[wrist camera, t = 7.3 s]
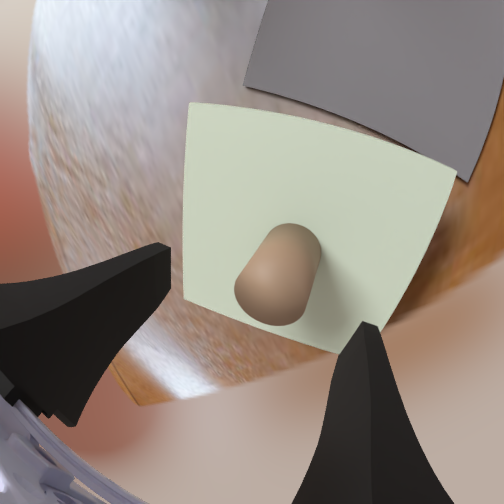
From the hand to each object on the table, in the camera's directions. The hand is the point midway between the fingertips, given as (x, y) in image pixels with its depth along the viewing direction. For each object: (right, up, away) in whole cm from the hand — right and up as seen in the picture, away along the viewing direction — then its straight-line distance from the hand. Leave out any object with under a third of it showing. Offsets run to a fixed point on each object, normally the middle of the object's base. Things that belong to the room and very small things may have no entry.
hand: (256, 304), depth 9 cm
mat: (+8, +15, 0) cm, 17 cm away
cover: (+2, +2, +5) cm, 6 cm away
